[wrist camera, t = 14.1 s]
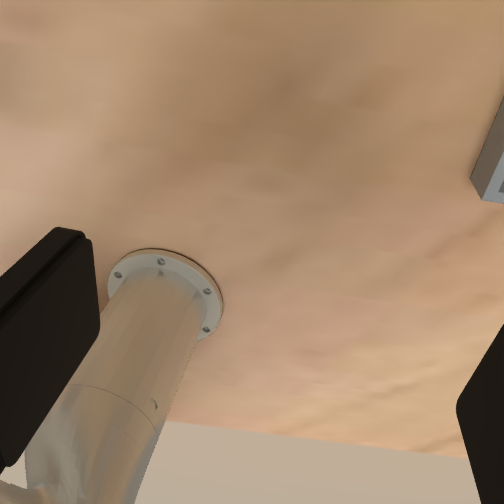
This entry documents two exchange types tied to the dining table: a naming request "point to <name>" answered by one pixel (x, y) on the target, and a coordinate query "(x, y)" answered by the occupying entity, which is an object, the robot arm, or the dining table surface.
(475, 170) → the gray divided tray
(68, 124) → the dining table surface
